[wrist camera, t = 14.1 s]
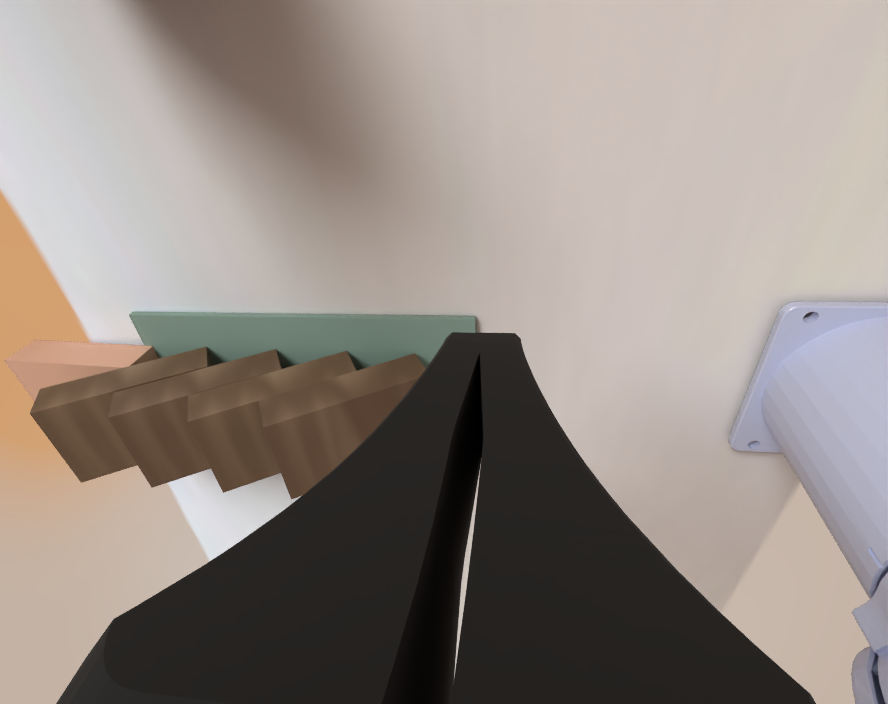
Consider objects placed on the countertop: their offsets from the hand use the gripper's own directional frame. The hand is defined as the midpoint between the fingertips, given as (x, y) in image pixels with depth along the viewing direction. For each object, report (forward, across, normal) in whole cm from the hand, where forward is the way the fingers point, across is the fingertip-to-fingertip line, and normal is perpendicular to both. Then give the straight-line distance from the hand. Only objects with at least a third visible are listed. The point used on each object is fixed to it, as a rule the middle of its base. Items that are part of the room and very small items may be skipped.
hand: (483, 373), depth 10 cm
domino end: (+9, +17, +9) cm, 21 cm away
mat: (+10, +9, +9) cm, 17 cm away
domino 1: (+9, +14, +9) cm, 19 cm away
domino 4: (+9, +3, +9) cm, 13 cm away
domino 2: (+9, +10, +9) cm, 16 cm away
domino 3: (+9, +7, +9) cm, 15 cm away
